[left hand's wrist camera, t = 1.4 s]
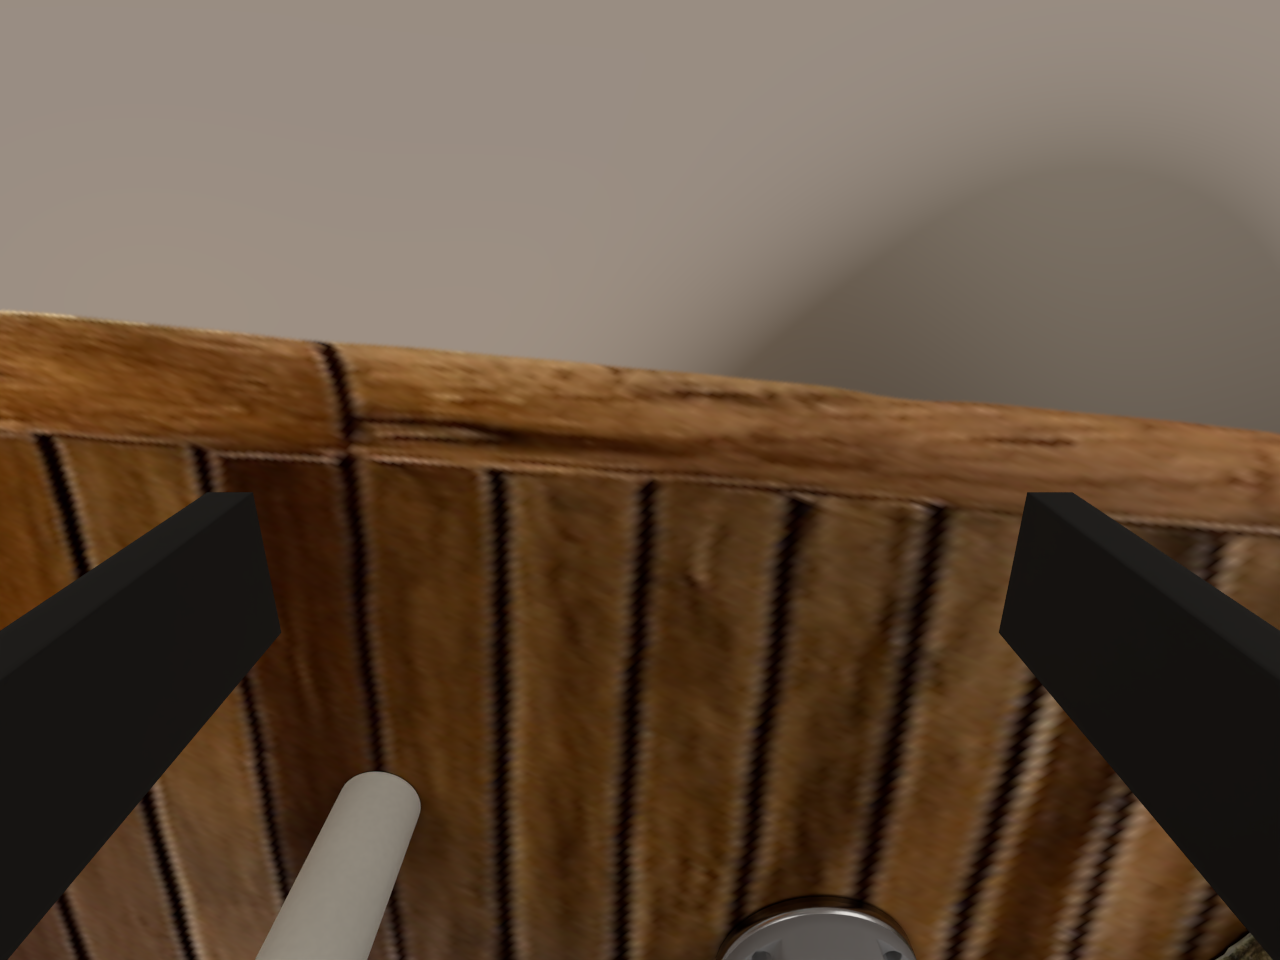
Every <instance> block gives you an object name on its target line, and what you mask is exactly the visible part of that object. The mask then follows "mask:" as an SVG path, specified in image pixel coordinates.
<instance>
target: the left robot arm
mask: <svg viewBox="0 0 1280 960" xmlns="http://www.w3.org/2000/svg"><path fill="white" fill-rule="evenodd" d="M280 633H281V630H280V625H279V620H278V615H277V610H276V605H275V600H274V595H273V590H272V585H271V580H270V575H269V570H268V566H267V561H266V556H265V551H264V546H263V541H262V536H261V531H260V526H259V521H258V516H257V511H256V506H255V502H254V497H253V492H207V493H206V494H204V495H203V496H201V497H200V498H198V499H197V500H195V501H194V502H192V503H191V504H189V505H188V506H186V507H185V508H183V509H182V510H181V511H179V512H178V513H176V514H175V515H173V516H172V517H170V518H169V519H167V520H166V521H164V522H163V523H161V524H160V525H158V526H157V527H155V528H154V529H152V530H151V531H149V532H148V533H146V534H145V535H143V536H142V537H140V538H139V539H137V540H136V541H134V542H133V543H131V544H130V545H128V546H127V547H125V548H124V549H122V550H121V551H119V552H118V553H116V554H115V555H113V556H112V557H110V558H109V559H107V560H106V561H104V562H103V563H101V564H100V565H98V566H97V567H95V568H94V569H92V570H91V571H89V572H88V573H86V574H85V575H83V576H82V577H80V578H79V579H77V580H76V581H74V582H73V583H71V584H70V585H68V586H67V587H65V588H64V589H62V590H61V591H59V592H58V593H56V594H55V595H53V596H52V597H50V598H49V599H47V600H46V601H44V602H43V603H41V604H40V605H38V606H37V607H35V608H34V609H32V610H31V611H29V612H28V613H26V614H25V615H23V616H22V617H20V618H19V619H17V620H16V621H14V622H13V623H11V624H10V625H8V626H7V627H5V628H4V629H2V630H1V631H0V960H7V959H8V958H9V957H10V956H11V955H12V954H13V952H14V951H15V950H16V949H17V948H18V946H19V945H20V944H21V943H22V942H23V940H24V939H25V938H26V937H27V936H28V934H29V933H30V932H31V931H32V930H33V928H34V927H35V926H36V925H37V924H38V922H39V921H40V920H41V919H42V918H43V916H44V915H45V914H46V913H47V912H48V910H49V909H50V908H51V907H52V906H53V905H54V903H55V902H56V901H57V900H58V899H59V897H60V896H61V895H62V894H63V893H64V891H65V890H66V889H67V888H68V887H69V885H70V884H71V883H72V882H73V881H74V879H75V878H76V877H77V876H78V875H79V873H80V872H81V871H82V870H83V869H84V867H85V866H86V865H87V864H88V863H89V862H90V860H91V859H92V858H93V857H94V856H95V854H96V853H97V852H98V851H99V850H100V848H101V847H102V846H103V845H104V844H105V842H106V841H107V840H108V839H109V838H110V836H111V835H112V834H113V833H114V832H115V830H116V829H117V828H118V827H119V826H120V824H121V823H122V822H123V821H124V820H125V818H126V817H127V816H128V815H129V814H130V813H131V811H132V810H133V809H134V808H135V807H136V805H137V804H138V803H139V802H140V801H141V799H142V798H143V797H144V796H145V795H146V793H147V792H148V791H149V790H150V789H151V787H152V786H153V785H154V784H155V783H156V781H157V780H158V779H159V778H160V777H161V775H162V774H163V773H164V772H165V771H166V769H167V768H168V767H169V766H170V765H171V764H172V762H173V761H174V760H175V759H176V758H177V756H178V755H179V754H180V753H181V752H182V750H183V749H184V748H185V747H186V746H187V744H188V743H189V742H190V741H191V740H192V738H193V737H194V736H195V735H196V734H197V732H198V731H199V730H200V729H201V728H202V726H203V725H204V724H205V723H206V722H207V721H208V719H209V718H210V717H211V716H212V715H213V713H214V712H215V711H216V710H217V709H218V707H219V706H220V705H221V704H222V703H223V701H224V700H225V699H226V698H227V697H228V695H229V694H230V693H231V692H232V691H233V689H234V688H235V687H236V686H237V685H238V683H239V682H240V681H241V680H242V679H243V677H244V676H245V675H246V674H247V673H248V672H249V670H250V669H251V668H252V667H253V666H254V664H255V663H256V662H257V661H258V660H259V658H260V657H261V656H262V655H263V654H264V652H265V651H266V650H267V649H268V648H269V646H270V645H271V644H272V643H273V642H274V640H275V639H276V638H277V637H278V636H279V634H280ZM999 633H1000V634H1001V636H1002V637H1003V638H1004V639H1005V640H1006V642H1007V643H1008V644H1009V645H1010V646H1011V648H1012V649H1013V650H1014V651H1015V652H1016V654H1017V655H1018V656H1019V657H1020V658H1021V660H1022V661H1023V662H1024V663H1025V664H1026V666H1027V667H1028V668H1029V669H1030V670H1031V672H1032V673H1033V674H1034V675H1035V676H1036V677H1037V679H1038V680H1039V681H1040V682H1041V683H1042V685H1043V686H1044V687H1045V688H1046V689H1047V691H1048V692H1049V693H1050V694H1051V695H1052V697H1053V698H1054V699H1055V700H1056V701H1057V703H1058V704H1059V705H1060V706H1061V707H1062V709H1063V710H1064V711H1065V712H1066V713H1067V715H1068V716H1069V717H1070V718H1071V719H1072V721H1073V722H1074V723H1075V724H1076V725H1077V726H1078V728H1079V729H1080V730H1081V731H1082V732H1083V734H1084V735H1085V736H1086V737H1087V738H1088V740H1089V741H1090V742H1091V743H1092V744H1093V746H1094V747H1095V748H1096V749H1097V750H1098V752H1099V753H1100V754H1101V755H1102V756H1103V758H1104V759H1105V760H1106V761H1107V762H1108V764H1109V765H1110V766H1111V767H1112V768H1113V769H1114V771H1115V772H1116V773H1117V774H1118V775H1119V777H1120V778H1121V779H1122V780H1123V781H1124V783H1125V784H1126V785H1127V786H1128V787H1129V789H1130V790H1131V791H1132V792H1133V793H1134V795H1135V796H1136V797H1137V798H1138V799H1139V801H1140V802H1141V803H1142V804H1143V805H1144V807H1145V808H1146V809H1147V810H1148V811H1149V813H1150V814H1151V815H1152V816H1153V817H1154V818H1155V820H1156V821H1157V822H1158V823H1159V824H1160V826H1161V827H1162V828H1163V829H1164V830H1165V832H1166V833H1167V834H1168V835H1169V836H1170V838H1171V839H1172V840H1173V841H1174V842H1175V844H1176V845H1177V846H1178V847H1179V848H1180V850H1181V851H1182V852H1183V853H1184V854H1185V856H1186V857H1187V858H1188V859H1189V860H1190V862H1191V863H1192V864H1193V865H1194V866H1195V867H1196V869H1197V870H1198V871H1199V872H1200V873H1201V875H1202V876H1203V877H1204V878H1205V879H1206V881H1207V882H1208V883H1209V884H1210V885H1211V887H1212V888H1213V889H1214V890H1215V891H1216V893H1217V894H1218V895H1219V896H1220V897H1221V899H1222V900H1223V901H1224V902H1225V903H1226V905H1227V906H1228V907H1229V908H1230V909H1231V910H1232V912H1233V913H1234V914H1235V915H1236V916H1237V918H1238V919H1239V920H1240V921H1241V922H1242V924H1243V925H1244V926H1245V927H1246V928H1247V930H1248V931H1249V932H1250V933H1251V934H1252V936H1253V937H1254V938H1255V939H1256V940H1257V942H1258V943H1259V944H1260V945H1261V946H1262V948H1263V949H1264V950H1265V951H1266V952H1267V954H1268V955H1269V956H1270V957H1271V958H1272V959H1273V960H1280V631H1279V630H1278V629H1276V628H1275V627H1273V626H1272V625H1270V624H1269V623H1267V622H1266V621H1264V620H1263V619H1261V618H1260V617H1258V616H1257V615H1255V614H1254V613H1252V612H1251V611H1249V610H1248V609H1246V608H1245V607H1243V606H1242V605H1240V604H1239V603H1237V602H1236V601H1234V600H1233V599H1231V598H1230V597H1228V596H1227V595H1225V594H1224V593H1222V592H1221V591H1219V590H1218V589H1216V588H1215V587H1213V586H1212V585H1210V584H1209V583H1207V582H1206V581H1204V580H1203V579H1201V578H1200V577H1198V576H1197V575H1195V574H1194V573H1192V572H1191V571H1189V570H1188V569H1186V568H1185V567H1183V566H1182V565H1180V564H1179V563H1177V562H1176V561H1174V560H1173V559H1171V558H1170V557H1168V556H1167V555H1165V554H1164V553H1162V552H1161V551H1159V550H1158V549H1156V548H1155V547H1153V546H1152V545H1150V544H1149V543H1147V542H1146V541H1144V540H1143V539H1141V538H1140V537H1138V536H1137V535H1135V534H1134V533H1132V532H1131V531H1129V530H1128V529H1126V528H1125V527H1123V526H1122V525H1120V524H1119V523H1117V522H1116V521H1114V520H1113V519H1111V518H1110V517H1108V516H1107V515H1105V514H1104V513H1102V512H1101V511H1099V510H1098V509H1097V508H1095V507H1094V506H1092V505H1091V504H1089V503H1088V502H1086V501H1085V500H1083V499H1082V498H1080V497H1079V496H1077V495H1076V494H1074V493H1073V492H1027V497H1026V502H1025V506H1024V511H1023V516H1022V521H1021V526H1020V531H1019V536H1018V541H1017V546H1016V551H1015V556H1014V561H1013V566H1012V570H1011V575H1010V580H1009V585H1008V590H1007V595H1006V600H1005V605H1004V610H1003V615H1002V620H1001V625H1000V630H999ZM716 960H916V957H915V955H914V952H913V949H912V946H911V944H910V941H909V939H908V937H907V935H906V934H905V932H904V931H903V929H902V928H901V927H900V926H899V925H898V924H897V923H896V922H895V921H894V920H893V919H892V918H891V917H889V916H888V915H887V914H885V913H883V912H882V911H880V910H878V909H876V908H874V907H872V906H870V905H867V904H864V903H862V902H858V901H854V900H850V899H845V898H838V897H807V898H799V899H793V900H789V901H785V902H781V903H778V904H775V905H772V906H770V907H768V908H765V909H763V910H761V911H759V912H757V913H755V914H753V915H752V916H750V917H749V918H747V919H746V920H744V921H743V922H742V923H740V924H739V925H738V926H737V927H736V928H735V929H734V930H733V931H732V932H731V933H730V934H729V935H728V936H727V938H726V939H725V941H724V942H723V944H722V945H721V947H720V949H719V952H718V954H717V957H716Z"/></svg>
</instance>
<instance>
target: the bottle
mask: <svg viewBox="0 0 1280 960" xmlns="http://www.w3.org/2000/svg"><path fill="white" fill-rule="evenodd" d="M420 809H421V805H420V799H419V797H418V794H417V793H416V791H415V790H414V788H413V787H412V786H411V785H410V784H409V783H408V782H406V781H405V780H403V779H402V778H400V777H398V776H396V775H393V774H390V773H385V772H366V773H362V774H359V775H357V776H355V777H353V778H352V779H350V780H349V781H348V782H347V783H346V784H345V785H344V787H343V788H342V790H341V792H340V794H339V796H338V798H337V800H336V802H335V804H334V806H333V808H332V810H331V812H330V814H329V816H328V818H327V820H326V822H325V823H324V825H323V827H322V829H321V831H320V833H319V835H318V837H317V839H316V841H315V843H314V845H313V847H312V849H311V851H310V853H309V855H308V857H307V859H306V861H305V863H304V865H303V867H302V869H301V871H300V873H299V875H298V877H297V879H296V880H295V882H294V884H293V886H292V888H291V890H290V892H289V894H288V896H287V898H286V900H285V902H284V904H283V906H282V908H281V910H280V912H279V914H278V916H277V918H276V920H275V922H274V924H273V926H272V928H271V930H270V932H269V934H268V935H267V937H266V939H265V941H264V943H263V945H262V947H261V949H260V951H259V953H258V955H257V957H256V959H255V960H367V958H368V956H369V953H370V950H371V947H372V945H373V942H374V939H375V936H376V934H377V931H378V928H379V925H380V922H381V920H382V917H383V914H384V911H385V909H386V906H387V903H388V900H389V898H390V895H391V892H392V889H393V886H394V884H395V881H396V878H397V875H398V873H399V870H400V867H401V864H402V862H403V859H404V856H405V853H406V850H407V848H408V845H409V842H410V839H411V837H412V834H413V831H414V828H415V826H416V823H417V820H418V817H419V814H420Z"/></svg>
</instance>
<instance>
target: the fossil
mask: <svg viewBox="0 0 1280 960" xmlns="http://www.w3.org/2000/svg"><path fill="white" fill-rule="evenodd" d="M1216 960H1273V959H1272V958H1271V957H1270V956H1269V955H1268V954H1267V952H1266V951H1265V950H1264V949H1263V948H1262V946H1261V945H1260V944H1259V943H1258V942H1257V940H1256V939H1255V938H1254V937H1253V936H1252V934H1251V933H1249V934H1248V935H1246V936H1245V937H1244V938H1242V939H1241V940H1240V941H1239V942H1237V943H1236V944H1234V945H1233V946H1231V947H1229V948H1228V950H1227V951H1226V953H1225V954H1224V955H1223V956H1221V957H1219V958H1218V959H1216Z"/></svg>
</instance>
